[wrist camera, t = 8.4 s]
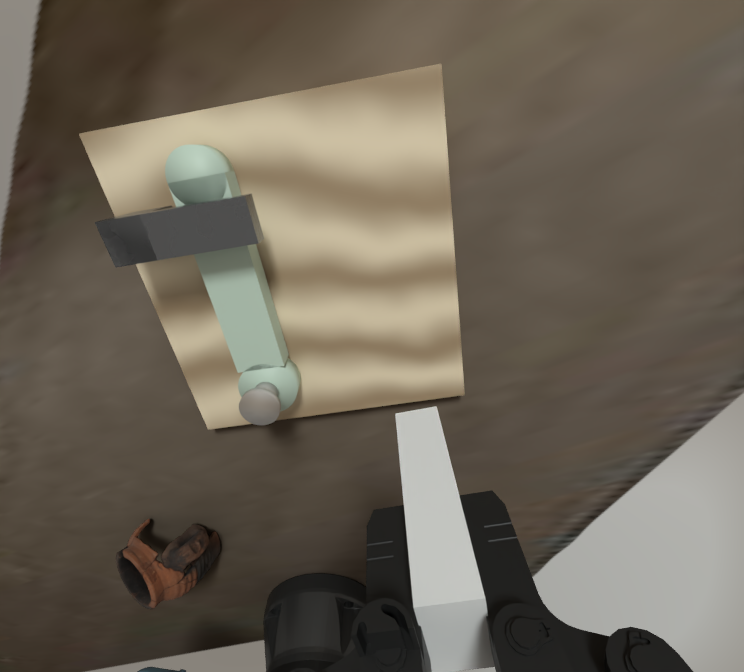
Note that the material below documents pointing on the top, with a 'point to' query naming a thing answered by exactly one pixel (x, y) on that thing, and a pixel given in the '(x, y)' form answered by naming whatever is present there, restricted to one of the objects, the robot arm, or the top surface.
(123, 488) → the top surface
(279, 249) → the base board
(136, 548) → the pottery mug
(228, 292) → the link
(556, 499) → the top surface
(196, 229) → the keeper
